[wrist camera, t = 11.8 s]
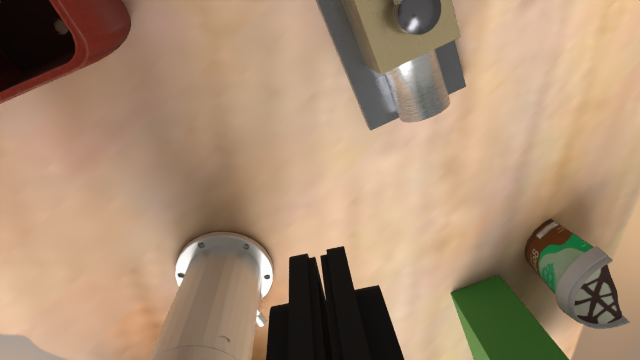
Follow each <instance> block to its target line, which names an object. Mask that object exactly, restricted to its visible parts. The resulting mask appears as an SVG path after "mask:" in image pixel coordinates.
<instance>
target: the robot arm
mask: <svg viewBox="0 0 640 360" xmlns="http://www.w3.org/2000/svg"><path fill="white" fill-rule="evenodd" d="M321 265H322V273H323V281H324V288H325V295H324V291H323V287H322V283H321V279H320V274H319V270H318V266H317V262H316V258H315V257H312V258H309V257H308V254H303V255H298V256H293V257H290V258H289V303H288V304H283V305H278V306H273V307H271V309H270V316H269V329H268V342H267V355H266V360H404V357H403V354H402V351H401V348H400V346H399V343H398V340H397V337H396V334H395V331H394V328H393V325H392V322H391V319H390V316H389V313H388V310H387V307H386V304H385V301H384V298H383V295H382V292H381V290H380V287H379V285H377V286H372V287H367V288H362V289H357V290H354V287H353V282H352V278H351V274H350V270H349V266H348V261H347V257H346V253H345V249H344V246H342V247H337V248H332V249H327V255H322V256H321ZM273 272H274V270H273V264H272V261H271V258H270V256H269V255H268V253H267V252H266V250H265V249H264V248H263V247H262V246H261V245H260V244H259V243H257V242H256V241H254V240H253V239H251V238H249V237H246V236H244V235H241V234H237V233H233V232H213V233H208V234H204V235H202V236H199V237H197V238H195V239H194V240H192V241H191V242H189V243H188V244H187V245H186V246H185V247H184V249H183V250H182V252H181V253H180V255H179V257H178V259H177V262H176V266H175V277H176V281H177V284H178V286H179V289H178V291H177V293H176V296H175V298H174V300H173V303H172V305H171V307H170V310H169V312H168V314H167V317H166V319H165V321H164V324H163V326H162V328H161V331H160V333H159V335H158V338H157V340H156V342H155V344H154V347H153V349H152V351H151V354H150V356H149V358H148V360H251V359H252V351H253V342H254V336H255V335H256V329H255V326H256V324H257V325H258V326H259V327H262V326H263V325H264V324H265V323H266V321H267V320H266V318H265V317H264V315H263V314H262V313H261V312H260V304H261V299H263V298H264V297H265V295H266V294H267V293H268V292H269V289H270V287H271V285H272V281H273ZM325 296H326V299H325Z"/></svg>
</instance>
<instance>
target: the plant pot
mask: <svg viewBox="0 0 640 360" xmlns="http://www.w3.org/2000/svg"><path fill="white" fill-rule="evenodd" d="M0 1H1V2H0V104H1V103H3V102H5V101H7V100H10V99H12V98H14V97H17V96H19V95H21V94H23V93H26V92H28V91H30V90H32V89H35V88H37V87H39V86H42V85H44V84H46V83H49V82H51V81H53V80H56V79H58V78H60V77H63V76H65V75H67V74H70V73H72V72H74V71H76V70H79V69H81V68H83V67H86V66H88V65H90V64H93V63H95V62H97V61H99V60H101V59H102V58H104V57H106V56H107V55H109V54H111V53H112V52H113V51H115V50H116V49H117V48H118V47H120V45H121V44H122V43H123V42H124V41H125V39H126V38H127V36H128V34H129V31H130V28H131V21H130V16H129V14H128V12H127V11H126V9H125V7H124V5H123V3H122V2H121V0H0ZM56 19H61V20H63V22H64V23H65V25H66V26H67V28H68V32H67V33H66V34H64V35H60V34H58V33H57V32H56V31H55V30H54V28H53V25H52V23H53V21H54V20H56Z"/></svg>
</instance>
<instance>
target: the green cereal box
mask: <svg viewBox="0 0 640 360" xmlns="http://www.w3.org/2000/svg"><path fill="white" fill-rule="evenodd" d="M451 296H452V299H453V301H454V304H455V307H456V310H457V313H458V316H459V318H460V321H461V324H462V327H463V330H464V332H465V335H466V338H467V341H468V344H469V347H470V349H471V352H472V355H473V358H474V360H569V359H568V358H567V356H566V355H565V354H564V353H563V352H562V350H561V349H560V348H559V347H558V346H557V344H556V343H555V342H554V341H553V339H552V338H551V337H550V336H549V335H548V333H547V332H546V331H545V330H544V329H543V327H542V326H541V325H540V324H539V323H538V321H537V320H536V319H535V318H534V317H533V315H532V314H531V313H530V312H529V311H528V309H527V308H526V307H525V306H524V305H523V303H522V302H521V301H520V300H519V299H518V297H517V296H516V295H515V294H514V292H513V291H512V290H511V289H510V288H509V286H508V285H507V284H506V283H505V282H504V280H503V279H502V278H501V277H500V276H499V275H497V276H494V277H492V278H489V279H486V280H484V281H481V282H478V283H476V284H473V285H470V286H468V287H465V288H462V289H460V290H457V291H454V292H452V293H451Z"/></svg>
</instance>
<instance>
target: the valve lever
mask: <svg viewBox="0 0 640 360" xmlns="http://www.w3.org/2000/svg"><path fill="white" fill-rule="evenodd" d="M393 2H394V6H393V10H392V20H393V23H394V25H395V27H396V28H397V29H398V30H399V31H400V32H402V33H404V34H412V35H422V34H425V33H427V32H429V31H430V30H432V29H433V28H434V27H435V25H436V24H437V22H438V21H439V18H440V15H441V2H440V0H393Z"/></svg>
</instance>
